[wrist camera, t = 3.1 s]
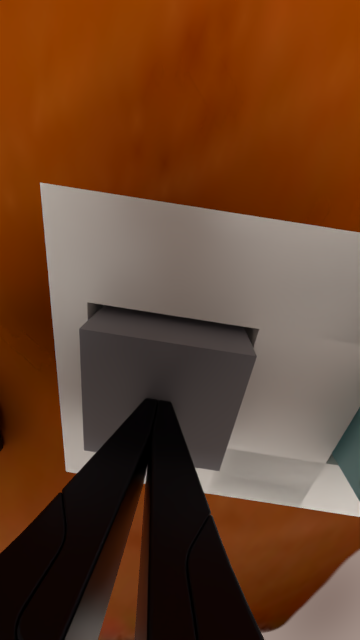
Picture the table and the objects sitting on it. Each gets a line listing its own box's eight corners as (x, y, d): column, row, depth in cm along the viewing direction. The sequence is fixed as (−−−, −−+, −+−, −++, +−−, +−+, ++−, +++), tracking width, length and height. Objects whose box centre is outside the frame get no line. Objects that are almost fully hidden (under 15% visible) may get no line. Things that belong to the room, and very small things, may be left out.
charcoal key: (111, 393, 11) (83, 450, 8) (113, 296, 9) (79, 328, 6) (213, 409, 11) (219, 471, 8) (238, 315, 9) (256, 356, 6)
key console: (98, 408, 15) (66, 471, 11) (97, 195, 10) (39, 182, 6) (378, 451, 15) (439, 529, 11) (516, 261, 10) (707, 286, 6)
